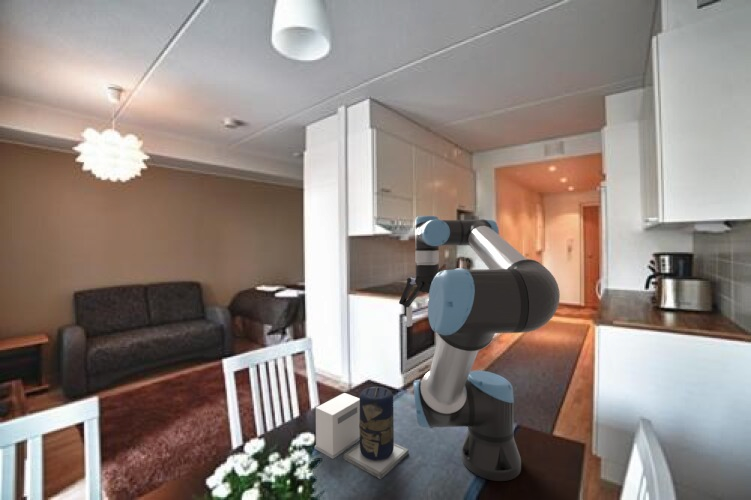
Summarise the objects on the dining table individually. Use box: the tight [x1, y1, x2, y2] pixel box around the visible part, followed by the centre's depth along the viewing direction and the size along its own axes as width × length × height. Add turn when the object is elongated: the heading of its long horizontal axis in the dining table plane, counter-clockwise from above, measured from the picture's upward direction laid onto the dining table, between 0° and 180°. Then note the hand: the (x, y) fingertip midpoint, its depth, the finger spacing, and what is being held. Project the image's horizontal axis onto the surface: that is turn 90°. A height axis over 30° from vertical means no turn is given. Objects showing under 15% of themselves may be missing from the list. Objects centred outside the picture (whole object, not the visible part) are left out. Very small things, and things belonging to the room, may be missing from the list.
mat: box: [342, 442, 410, 480], centre depth 91 cm, size 13×13×1 cm
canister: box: [359, 386, 395, 460], centre depth 91 cm, size 10×10×18 cm
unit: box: [314, 392, 360, 460], centre depth 97 cm, size 8×13×12 cm, turn 142°
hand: (427, 328), depth 107 cm, fingers open, 13 cm apart
